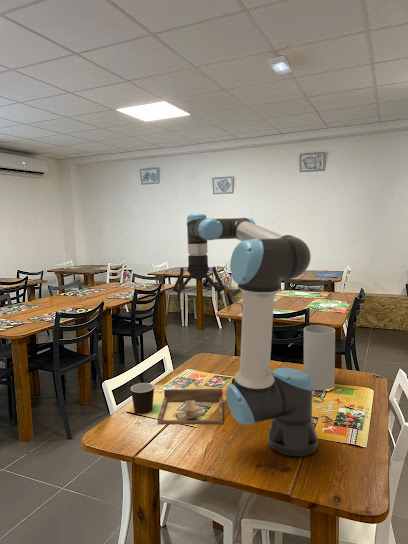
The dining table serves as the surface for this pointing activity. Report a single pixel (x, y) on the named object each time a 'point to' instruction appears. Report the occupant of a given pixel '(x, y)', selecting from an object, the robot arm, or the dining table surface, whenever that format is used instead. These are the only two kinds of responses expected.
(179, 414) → the offcut lower
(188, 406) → the offcut upper
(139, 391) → the coffee mug
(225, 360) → the dining table surface
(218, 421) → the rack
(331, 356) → the cylinder vase
